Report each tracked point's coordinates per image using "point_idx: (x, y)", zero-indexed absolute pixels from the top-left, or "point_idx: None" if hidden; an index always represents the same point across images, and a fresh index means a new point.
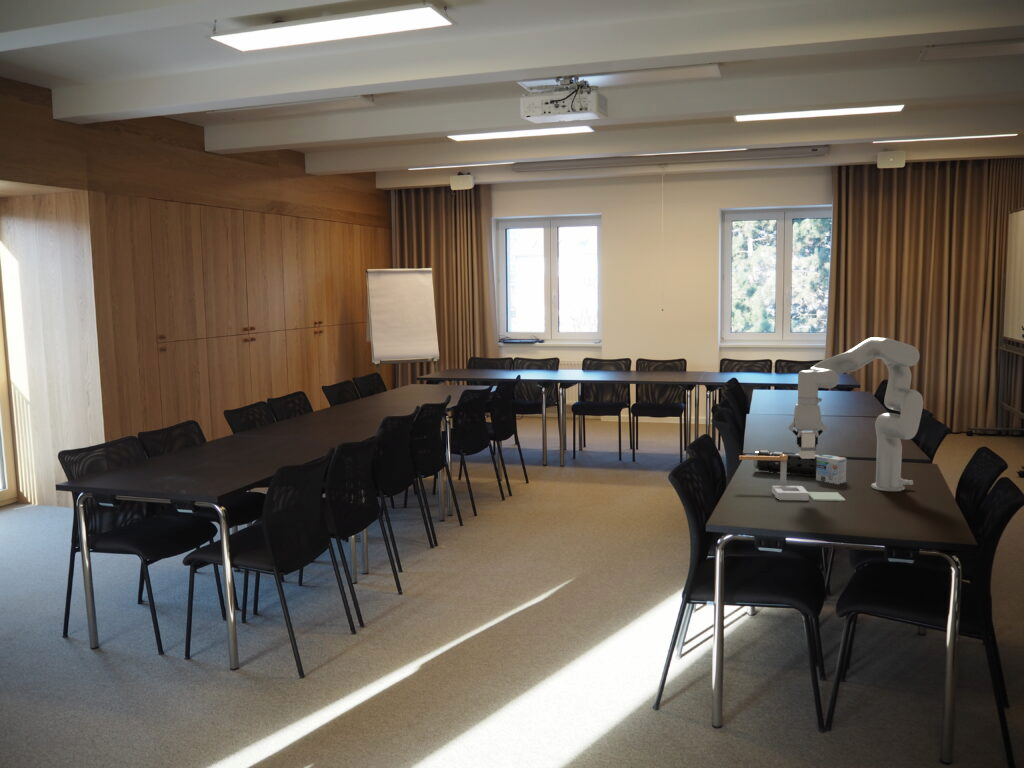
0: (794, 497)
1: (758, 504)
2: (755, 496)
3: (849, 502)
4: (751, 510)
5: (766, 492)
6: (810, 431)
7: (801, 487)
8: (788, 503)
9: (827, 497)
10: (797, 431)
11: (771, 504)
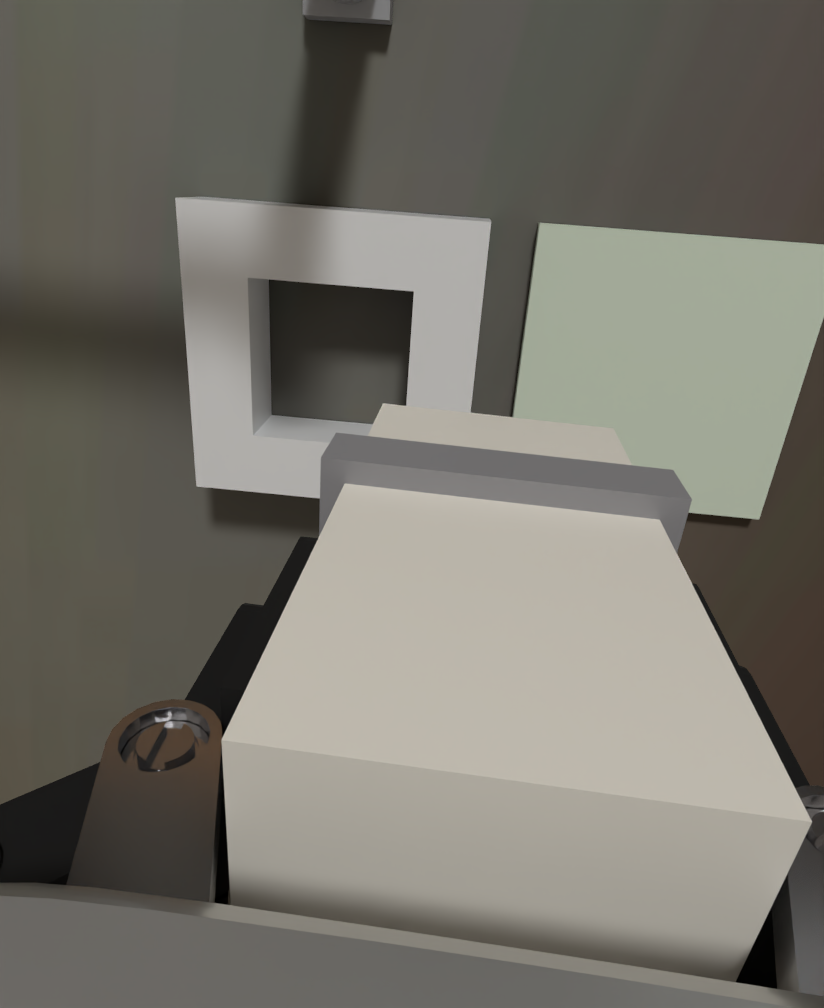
0: None
1: (73, 576)
2: (53, 342)
3: (764, 550)
4: (29, 700)
5: (155, 181)
6: (718, 815)
7: (461, 292)
8: (284, 559)
9: (639, 447)
10: (102, 879)
11: (161, 579)
